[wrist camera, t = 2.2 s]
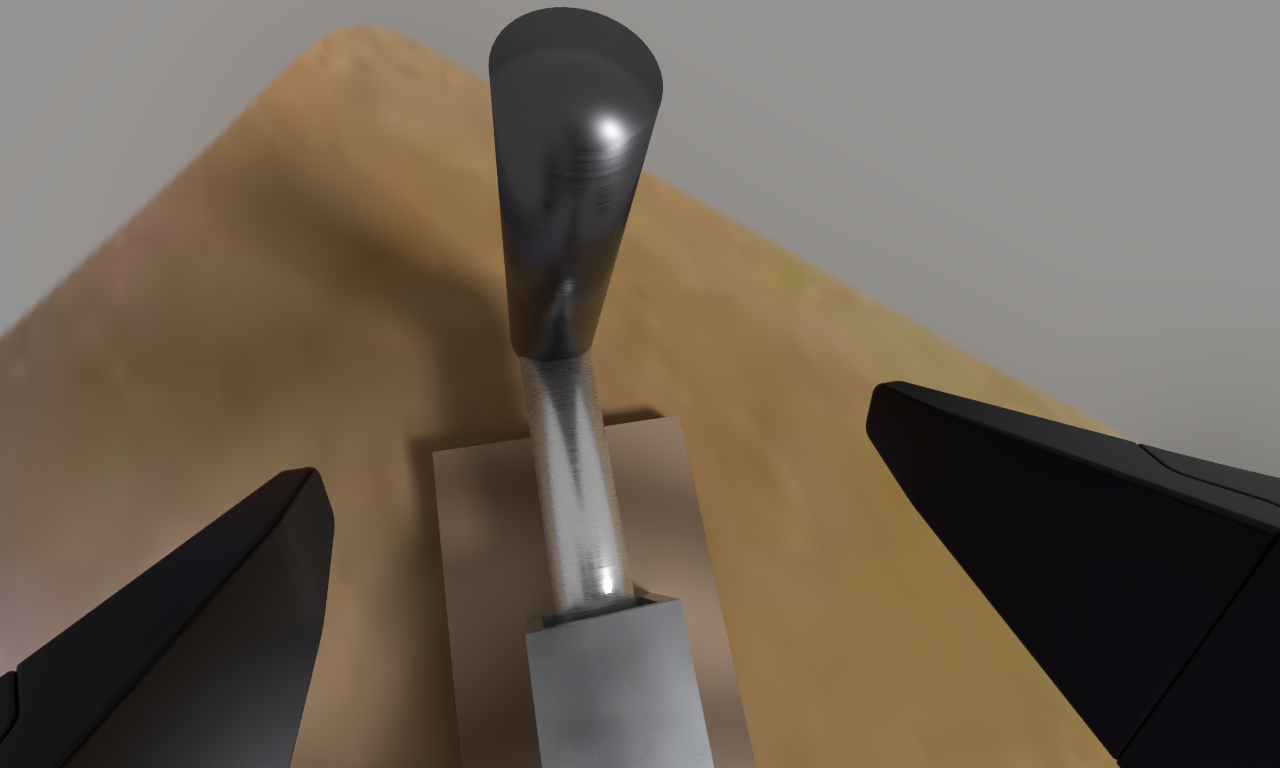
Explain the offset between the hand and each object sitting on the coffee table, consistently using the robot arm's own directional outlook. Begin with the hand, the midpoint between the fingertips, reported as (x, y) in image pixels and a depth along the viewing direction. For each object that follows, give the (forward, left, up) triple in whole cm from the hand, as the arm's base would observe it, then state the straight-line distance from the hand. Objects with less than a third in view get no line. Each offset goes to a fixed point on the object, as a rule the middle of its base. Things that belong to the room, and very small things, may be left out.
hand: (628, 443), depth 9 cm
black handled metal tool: (-1, 0, -11) cm, 11 cm away
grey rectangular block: (-7, +1, -11) cm, 14 cm away
